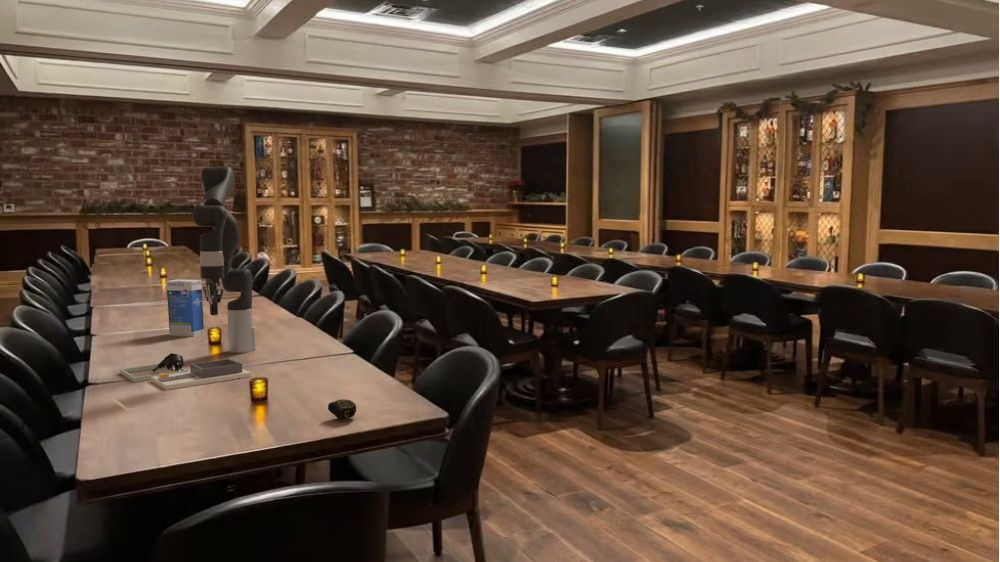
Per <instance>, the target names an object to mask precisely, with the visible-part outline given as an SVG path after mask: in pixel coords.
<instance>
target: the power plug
mask: <svg viewBox="0 0 1000 562" xmlns="http://www.w3.org/2000/svg"><path fill="white" fill-rule="evenodd" d="M183 357H184V356H183V355H180V354H178V353H172V352H171V353H169V354H168V355H167V356H165V357H164V359H162V360H161V361H160V362H159V363H157V364H158V367H157V368H155V369H152V372H156V371H157V370H159V369H163V367H164V368H167V370H170V371H171V372H175V371H180V369H181V368H182V367H183V368H184V366H185V361H184V358H183ZM166 365H167V367H165V366H166Z"/></svg>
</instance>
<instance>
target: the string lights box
mask: <svg viewBox="0 0 1000 562" xmlns="http://www.w3.org/2000/svg"><path fill="white" fill-rule="evenodd" d="M166 295H167V311H168V312H167V313H168V327H169V336H171V337H175V336H176V337H189V338H191V337H192V338H194V337H197V336H201V335H205V328H204V327H205V326H204V308H203V307H204V306H203V304H204V303H203V286H202V280H201V279H173V280H172V279H171V280H166Z"/></svg>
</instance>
